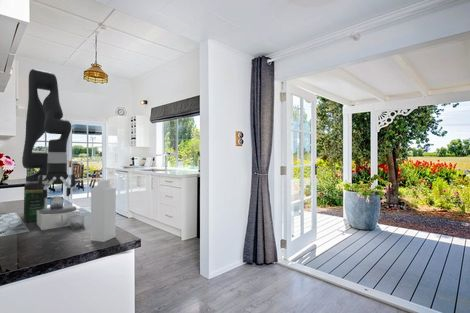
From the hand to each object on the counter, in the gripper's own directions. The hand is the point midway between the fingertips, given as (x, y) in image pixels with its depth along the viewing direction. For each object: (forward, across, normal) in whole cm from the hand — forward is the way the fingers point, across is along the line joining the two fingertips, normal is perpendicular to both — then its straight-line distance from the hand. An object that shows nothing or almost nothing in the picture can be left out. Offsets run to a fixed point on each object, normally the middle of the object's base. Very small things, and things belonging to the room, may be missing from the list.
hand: (56, 196), depth 120 cm
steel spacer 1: (+5, 0, 0) cm, 5 cm away
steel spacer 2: (+12, -5, +15) cm, 20 cm away
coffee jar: (+12, +7, -11) cm, 18 cm away
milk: (+11, -8, +40) cm, 42 cm away
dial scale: (+12, 0, +4) cm, 12 cm away
